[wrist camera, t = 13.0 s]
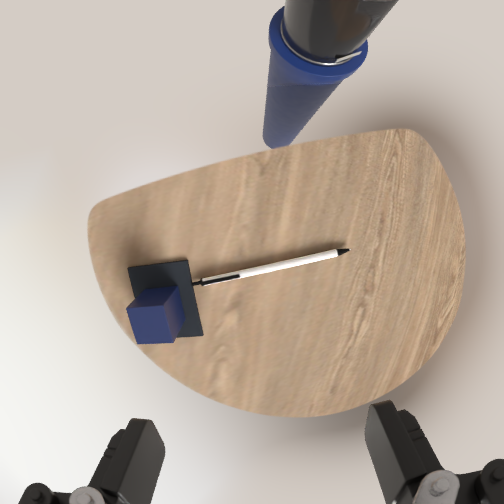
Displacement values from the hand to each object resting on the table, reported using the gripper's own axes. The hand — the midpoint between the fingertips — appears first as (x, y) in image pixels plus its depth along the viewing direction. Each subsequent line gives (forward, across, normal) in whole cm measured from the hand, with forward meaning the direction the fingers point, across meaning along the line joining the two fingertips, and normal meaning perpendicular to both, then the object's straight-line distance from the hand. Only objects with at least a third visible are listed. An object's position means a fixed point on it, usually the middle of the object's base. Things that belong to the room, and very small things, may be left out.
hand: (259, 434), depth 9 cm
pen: (+25, -1, +1) cm, 25 cm away
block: (+25, +12, +5) cm, 28 cm away
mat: (+25, +12, +5) cm, 28 cm away
